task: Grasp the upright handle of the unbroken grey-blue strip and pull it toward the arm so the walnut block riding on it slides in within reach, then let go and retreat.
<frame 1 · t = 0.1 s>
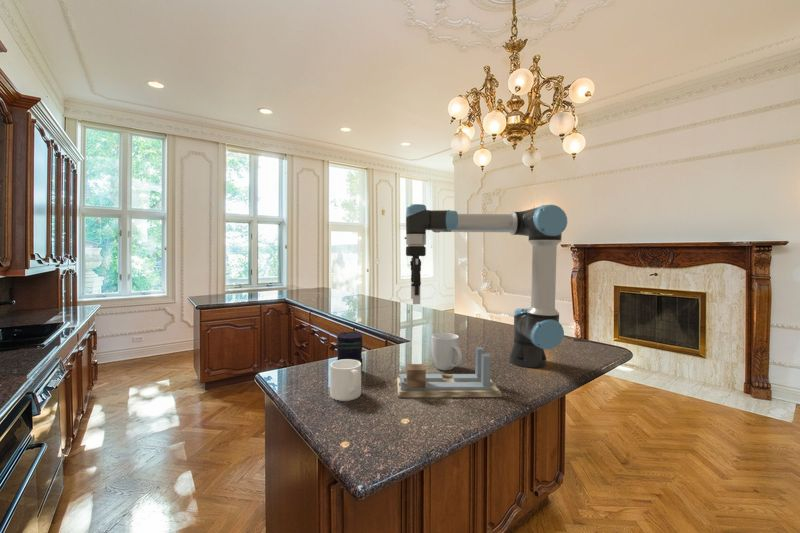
hand: (415, 301, 135), 28 cm above the countertop, fingers open, 13 cm apart
mug: (446, 369, 142), on the countertop
mug 2: (347, 396, 115), on the countertop
lane board: (446, 387, 122), on the countertop
storage jar: (349, 373, 136), on the countertop
walnut block: (415, 384, 118), point 3 cm above the countertop, touching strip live
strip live: (445, 371, 118), point 7 cm above the countertop, slide at 0.0 cm, touching walnut block
strip broken near: (468, 383, 127), resting on lane board
strip broken far: (421, 383, 126), resting on lane board
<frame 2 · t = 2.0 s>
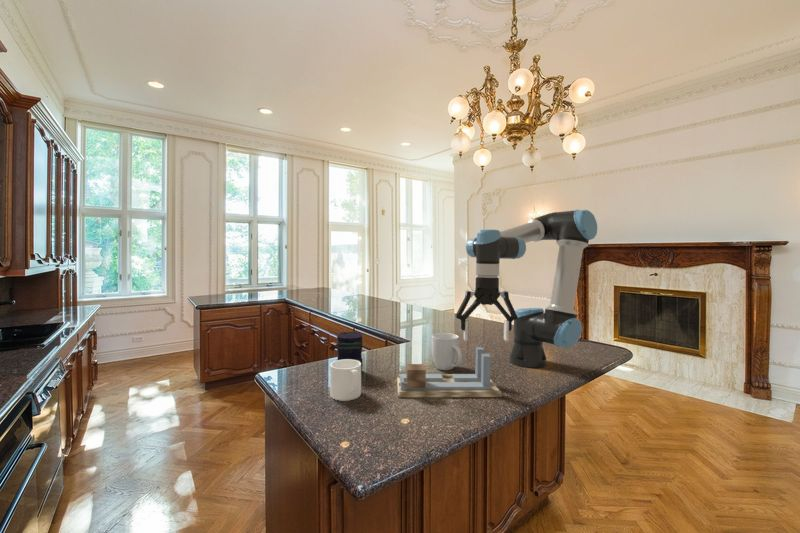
hand: (485, 340, 118), 18 cm above the countertop, fingers open, 13 cm apart
nothing on the countertop moved.
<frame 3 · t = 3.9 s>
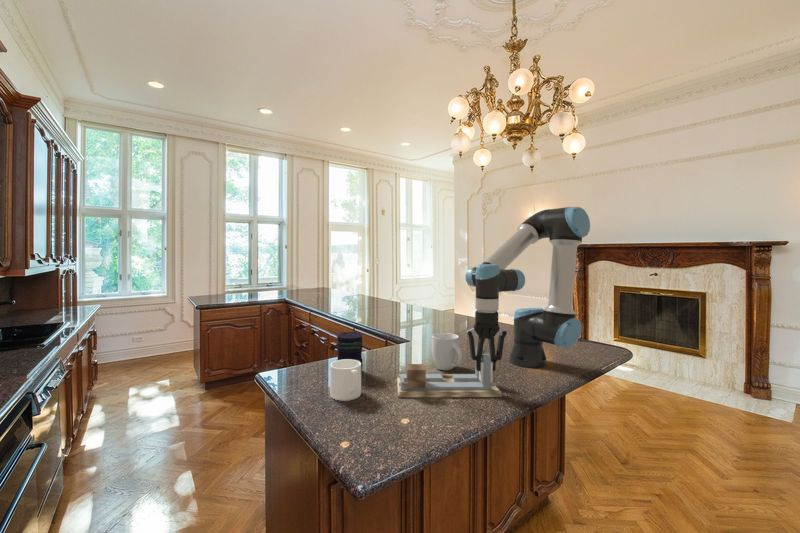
hand: (485, 380, 118), 4 cm above the countertop, fingers closed on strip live, 2 cm apart
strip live: (445, 371, 118), point 7 cm above the countertop, slide at 0.0 cm, touching gripper, walnut block
everything else where it was.
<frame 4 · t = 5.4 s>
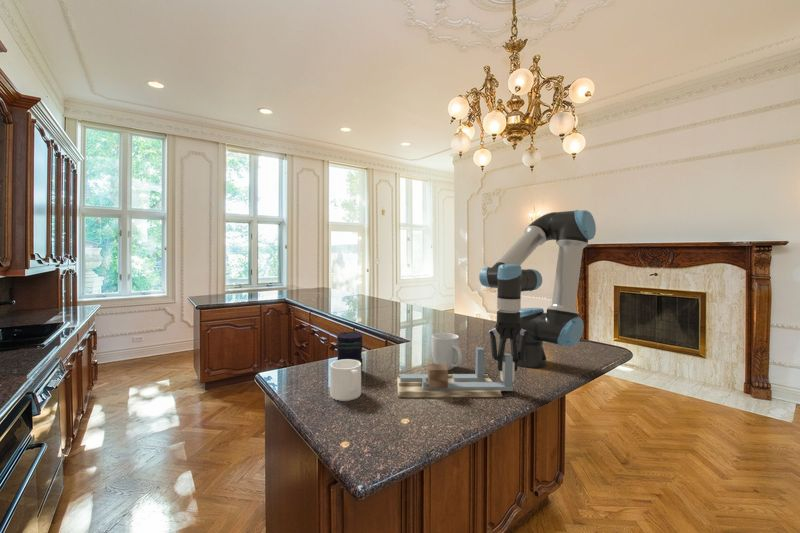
hand: (507, 380, 119), 4 cm above the countertop, fingers closed on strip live, 2 cm apart
walnut block: (437, 384, 118), point 3 cm above the countertop, touching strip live
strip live: (467, 371, 118), point 7 cm above the countertop, slide at 7.3 cm, touching gripper, walnut block
everything else where it was.
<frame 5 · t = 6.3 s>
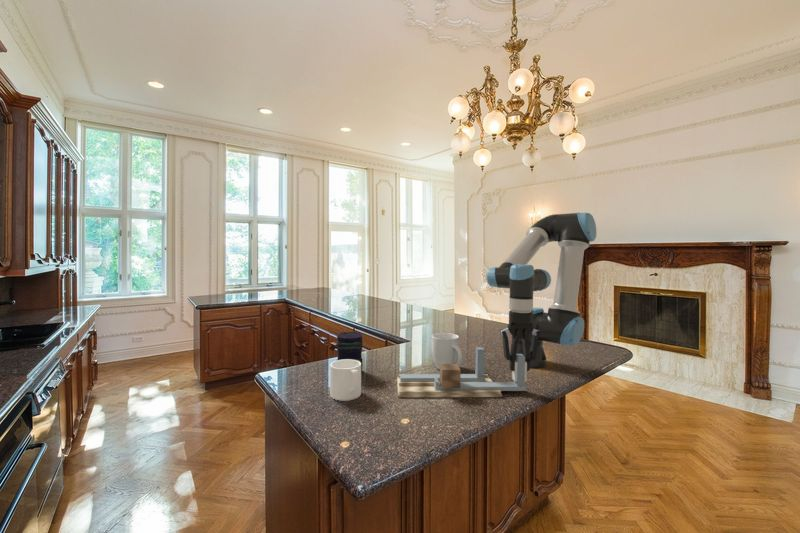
hand: (519, 379, 119), 4 cm above the countertop, fingers closed on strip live, 2 cm apart
walnut block: (449, 384, 118), point 3 cm above the countertop, touching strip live
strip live: (479, 371, 118), point 7 cm above the countertop, slide at 11.4 cm, touching gripper, walnut block
everything else where it was.
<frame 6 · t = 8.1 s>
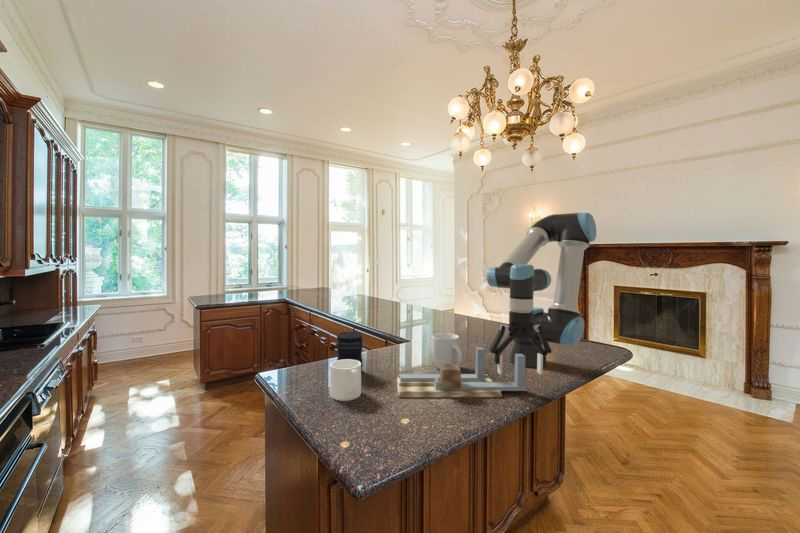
hand: (519, 373, 119), 6 cm above the countertop, fingers open, 13 cm apart
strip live: (479, 371, 118), point 7 cm above the countertop, slide at 11.5 cm, touching walnut block
everything else where it was.
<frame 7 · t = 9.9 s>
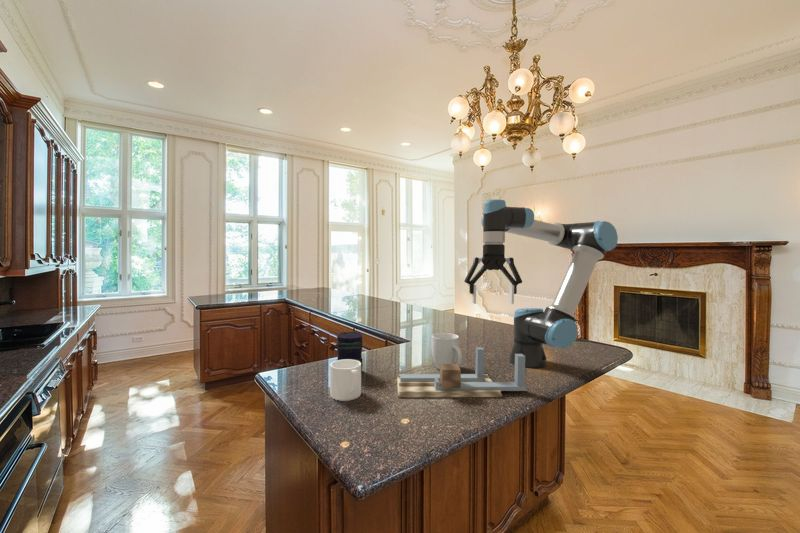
hand: (492, 303, 127), 29 cm above the countertop, fingers open, 13 cm apart
nothing on the countertop moved.
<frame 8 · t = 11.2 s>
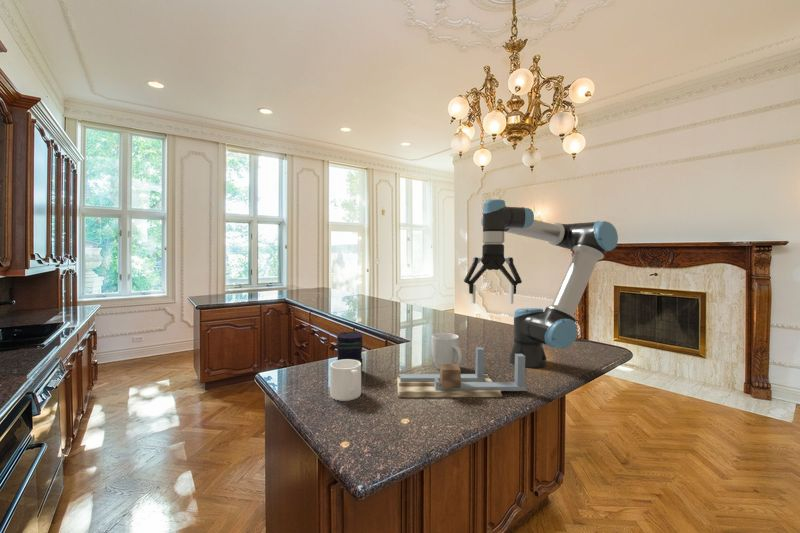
hand: (492, 303, 127), 29 cm above the countertop, fingers open, 13 cm apart
nothing on the countertop moved.
at the end: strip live slide at 11.5 cm; walnut block inside the target area (1.5 cm from its centre), point 2.6 cm above the countertop; walnut block tilted 0° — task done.
